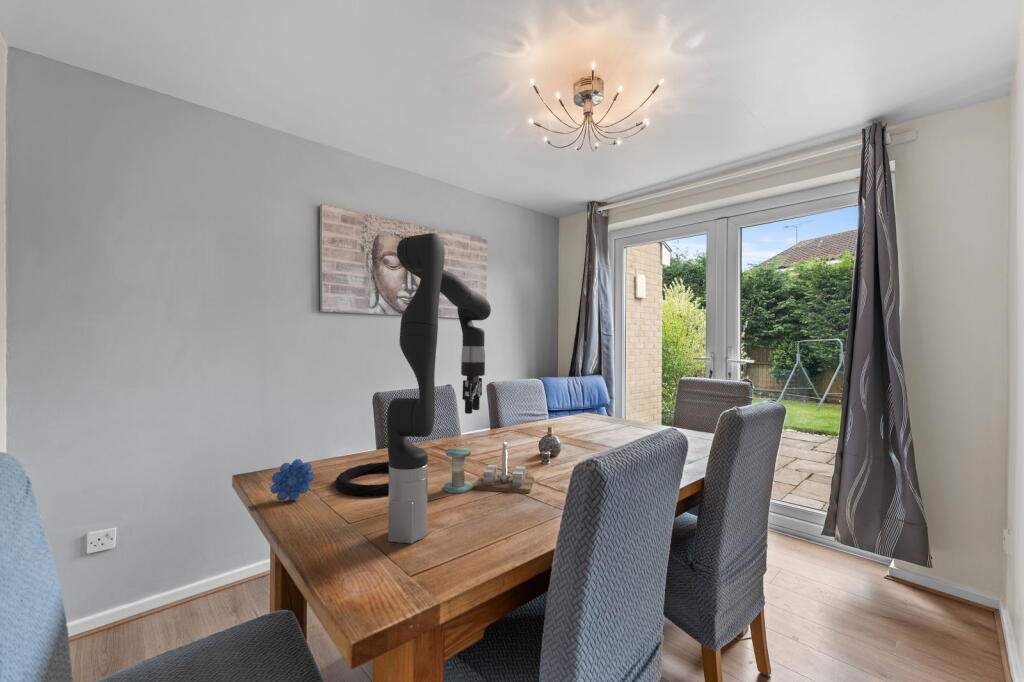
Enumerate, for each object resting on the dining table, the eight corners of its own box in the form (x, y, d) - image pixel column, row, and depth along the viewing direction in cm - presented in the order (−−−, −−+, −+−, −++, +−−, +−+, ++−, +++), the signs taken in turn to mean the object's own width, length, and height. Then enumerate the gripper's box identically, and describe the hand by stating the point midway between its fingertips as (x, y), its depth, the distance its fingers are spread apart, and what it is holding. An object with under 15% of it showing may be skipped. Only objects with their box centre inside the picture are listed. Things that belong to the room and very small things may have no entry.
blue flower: (316, 493, 135) (316, 454, 135) (313, 501, 128) (313, 460, 128) (273, 497, 131) (273, 457, 131) (268, 505, 125) (268, 463, 125)
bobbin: (468, 494, 135) (468, 455, 135) (440, 492, 137) (440, 453, 137) (475, 484, 144) (475, 448, 144) (448, 482, 146) (449, 446, 146)
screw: (495, 479, 146) (510, 478, 147) (497, 484, 141) (512, 483, 142) (496, 440, 146) (510, 439, 147) (498, 443, 141) (513, 443, 142)
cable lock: (317, 484, 133) (360, 457, 163) (317, 497, 133) (360, 467, 163) (406, 488, 131) (434, 460, 160) (406, 501, 131) (434, 470, 160)
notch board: (529, 493, 137) (530, 476, 137) (473, 489, 140) (473, 473, 140) (533, 480, 149) (534, 465, 149) (481, 477, 152) (481, 462, 152)
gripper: (478, 361, 133) (477, 415, 133) (489, 360, 147) (489, 409, 147) (454, 361, 134) (454, 414, 134) (468, 360, 148) (467, 408, 148)
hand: (472, 411), depth 140 cm, fingers open, 8 cm apart
